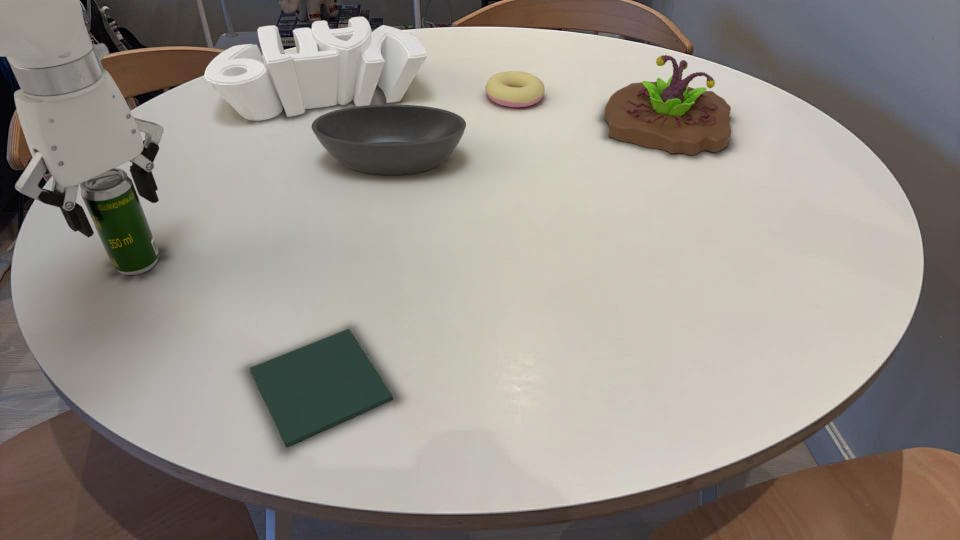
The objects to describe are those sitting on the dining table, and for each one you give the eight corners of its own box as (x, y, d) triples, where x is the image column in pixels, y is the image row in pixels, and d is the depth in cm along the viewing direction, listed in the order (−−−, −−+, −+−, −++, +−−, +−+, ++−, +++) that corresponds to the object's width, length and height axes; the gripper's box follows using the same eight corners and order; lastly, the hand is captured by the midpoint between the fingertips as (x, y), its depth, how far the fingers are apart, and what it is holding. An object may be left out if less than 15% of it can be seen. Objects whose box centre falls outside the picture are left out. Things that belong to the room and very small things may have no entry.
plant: (613, 88, 122) (621, 25, 115) (728, 102, 118) (745, 37, 111) (596, 144, 107) (604, 75, 100) (727, 162, 103) (746, 92, 96)
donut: (528, 125, 116) (550, 95, 122) (532, 103, 113) (554, 73, 118) (475, 104, 119) (499, 76, 124) (477, 82, 115) (501, 53, 120)
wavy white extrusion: (416, 67, 129) (413, 10, 122) (432, 108, 116) (429, 47, 110) (219, 87, 122) (204, 27, 116) (214, 132, 110) (197, 69, 103)
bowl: (465, 184, 99) (464, 146, 95) (310, 183, 99) (303, 145, 95) (467, 141, 108) (467, 104, 104) (325, 140, 108) (320, 103, 104)
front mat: (286, 447, 65) (285, 444, 65) (250, 370, 72) (249, 367, 72) (393, 399, 69) (392, 395, 69) (349, 331, 77) (348, 328, 76)
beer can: (154, 243, 88) (123, 162, 81) (165, 266, 85) (134, 183, 77) (109, 258, 86) (73, 175, 78) (119, 282, 83) (82, 198, 75)
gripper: (117, 34, 77) (164, 172, 88) (-52, 92, 66) (27, 239, 77) (157, 51, 73) (201, 192, 85) (-14, 114, 63) (62, 265, 74)
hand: (117, 214), depth 81 cm, fingers open, 7 cm apart
